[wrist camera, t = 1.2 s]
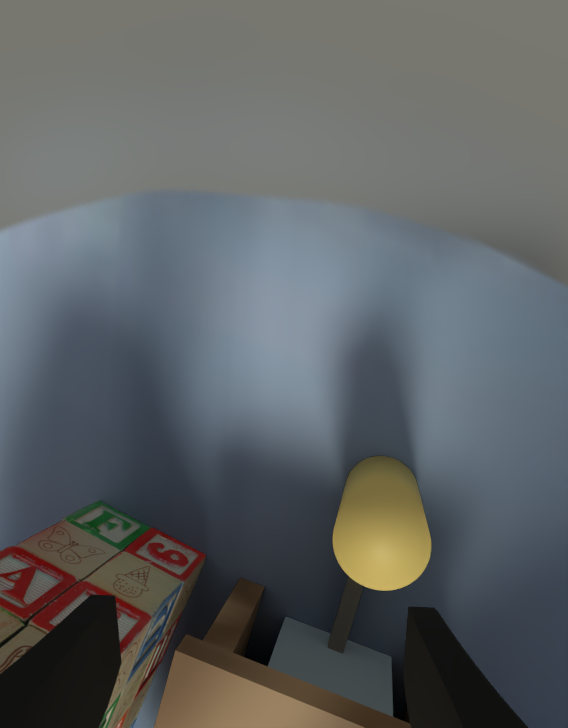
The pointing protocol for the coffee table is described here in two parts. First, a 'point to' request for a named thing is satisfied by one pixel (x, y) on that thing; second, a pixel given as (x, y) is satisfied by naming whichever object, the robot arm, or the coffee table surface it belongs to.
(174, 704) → the open wooden box
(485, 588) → the coffee table surface
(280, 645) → the cube joystick
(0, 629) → the stack of blocks
